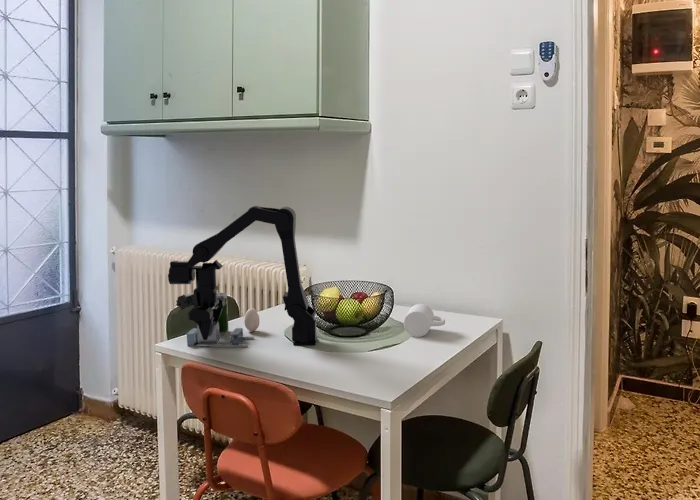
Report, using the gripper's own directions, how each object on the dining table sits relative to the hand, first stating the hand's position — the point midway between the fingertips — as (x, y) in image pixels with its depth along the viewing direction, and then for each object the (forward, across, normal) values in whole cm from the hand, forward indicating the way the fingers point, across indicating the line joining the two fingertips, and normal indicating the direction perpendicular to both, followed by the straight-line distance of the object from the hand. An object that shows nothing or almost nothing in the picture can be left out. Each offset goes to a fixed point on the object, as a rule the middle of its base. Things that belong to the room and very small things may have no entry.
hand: (208, 336), depth 191 cm
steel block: (+2, 0, 0) cm, 2 cm away
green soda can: (+2, -11, 0) cm, 11 cm away
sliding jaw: (+2, +2, +8) cm, 9 cm away
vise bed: (+2, 0, +2) cm, 3 cm away
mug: (+2, -11, +64) cm, 65 cm away
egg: (+2, -12, +10) cm, 16 cm away
